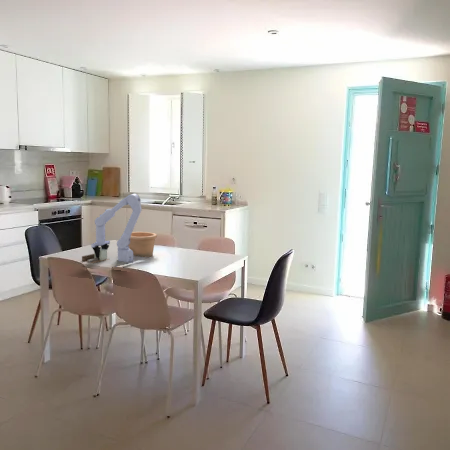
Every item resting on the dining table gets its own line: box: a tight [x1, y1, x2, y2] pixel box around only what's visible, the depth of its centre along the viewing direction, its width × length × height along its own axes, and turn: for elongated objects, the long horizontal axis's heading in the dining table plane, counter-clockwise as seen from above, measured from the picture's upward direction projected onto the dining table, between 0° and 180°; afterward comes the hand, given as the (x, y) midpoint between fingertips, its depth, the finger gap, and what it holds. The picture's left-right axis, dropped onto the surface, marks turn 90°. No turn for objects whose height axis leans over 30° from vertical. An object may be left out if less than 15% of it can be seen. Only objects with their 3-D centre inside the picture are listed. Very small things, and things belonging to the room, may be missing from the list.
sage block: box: [93, 249, 108, 261], centre depth 287 cm, size 6×5×6 cm
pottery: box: [128, 231, 158, 258], centre depth 309 cm, size 22×22×14 cm
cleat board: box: [81, 253, 110, 264], centre depth 284 cm, size 10×14×4 cm
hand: (100, 256), depth 288 cm, fingers closed on sage block, 5 cm apart
